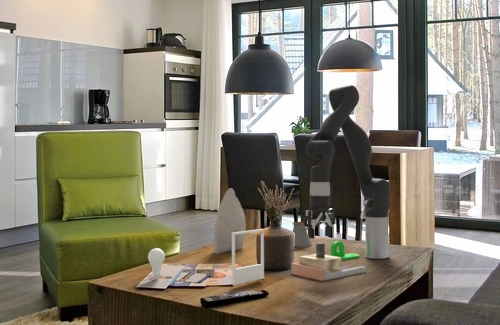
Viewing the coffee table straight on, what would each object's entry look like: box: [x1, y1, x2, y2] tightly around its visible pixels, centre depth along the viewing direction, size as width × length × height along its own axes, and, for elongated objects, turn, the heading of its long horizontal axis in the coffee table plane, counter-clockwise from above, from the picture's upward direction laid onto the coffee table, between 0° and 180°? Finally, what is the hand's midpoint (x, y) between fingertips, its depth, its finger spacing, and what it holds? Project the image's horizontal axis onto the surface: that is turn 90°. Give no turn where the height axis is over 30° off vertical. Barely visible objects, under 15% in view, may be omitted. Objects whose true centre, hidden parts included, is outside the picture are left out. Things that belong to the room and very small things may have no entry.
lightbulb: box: [147, 247, 166, 279], centre depth 222 cm, size 6×6×11 cm
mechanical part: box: [330, 240, 360, 261], centre depth 257 cm, size 12×6×8 cm, turn 122°
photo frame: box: [231, 228, 265, 286], centre depth 216 cm, size 15×1×18 cm, turn 133°
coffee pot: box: [292, 221, 325, 248], centre depth 278 cm, size 21×12×15 cm, turn 44°
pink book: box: [291, 262, 367, 282], centre depth 230 cm, size 24×16×4 cm
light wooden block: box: [299, 242, 343, 274], centre depth 227 cm, size 10×12×11 cm
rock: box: [212, 187, 247, 255], centre depth 268 cm, size 19×9×30 cm, turn 136°
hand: (319, 237), depth 227 cm, fingers open, 8 cm apart
